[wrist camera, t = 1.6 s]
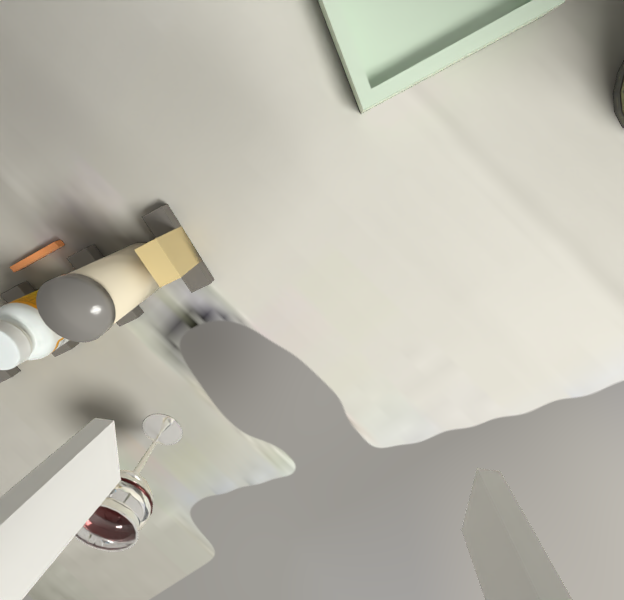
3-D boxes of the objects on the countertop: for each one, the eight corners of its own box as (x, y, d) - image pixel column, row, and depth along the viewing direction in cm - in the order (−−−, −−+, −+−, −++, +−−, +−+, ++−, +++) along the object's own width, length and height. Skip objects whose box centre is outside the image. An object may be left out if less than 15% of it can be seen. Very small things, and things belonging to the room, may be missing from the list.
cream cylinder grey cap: (110, 254, 33) (20, 295, 24) (151, 232, 32) (74, 266, 23) (141, 297, 35) (69, 351, 25) (181, 278, 34) (121, 327, 24)
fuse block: (-60, 307, 37) (-116, 329, 32) (156, 185, 30) (124, 190, 26) (7, 377, 40) (-35, 406, 35) (214, 279, 34) (195, 299, 29)
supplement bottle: (104, 328, 37) (31, 384, 28) (54, 318, 36) (-35, 371, 28) (102, 283, 34) (23, 327, 26) (49, 272, 34) (-49, 312, 25)
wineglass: (131, 405, 40) (56, 499, 29) (187, 410, 40) (133, 506, 29) (139, 447, 43) (73, 548, 32) (191, 452, 43) (143, 555, 32)
